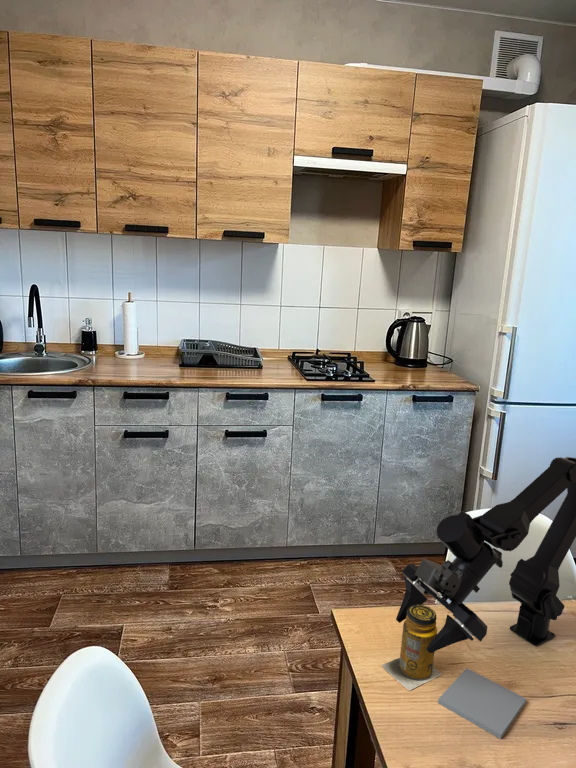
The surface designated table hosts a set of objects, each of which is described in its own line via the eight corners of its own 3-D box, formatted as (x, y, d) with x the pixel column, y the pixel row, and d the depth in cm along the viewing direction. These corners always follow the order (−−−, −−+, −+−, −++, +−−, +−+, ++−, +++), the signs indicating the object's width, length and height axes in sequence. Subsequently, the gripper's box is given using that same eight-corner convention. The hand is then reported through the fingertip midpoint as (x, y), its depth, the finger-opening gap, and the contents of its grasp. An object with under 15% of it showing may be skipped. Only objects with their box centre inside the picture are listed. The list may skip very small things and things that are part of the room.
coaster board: (466, 671, 109) (466, 667, 109) (525, 702, 102) (526, 698, 102) (437, 703, 101) (438, 698, 101) (500, 739, 94) (501, 734, 94)
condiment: (442, 674, 108) (449, 616, 106) (409, 691, 104) (415, 631, 101) (413, 652, 114) (419, 596, 111) (380, 667, 109) (386, 609, 107)
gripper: (414, 524, 114) (360, 586, 112) (482, 572, 97) (421, 646, 95) (442, 555, 119) (391, 615, 117) (512, 606, 102) (454, 677, 100)
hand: (412, 635), depth 107 cm, fingers open, 9 cm apart
